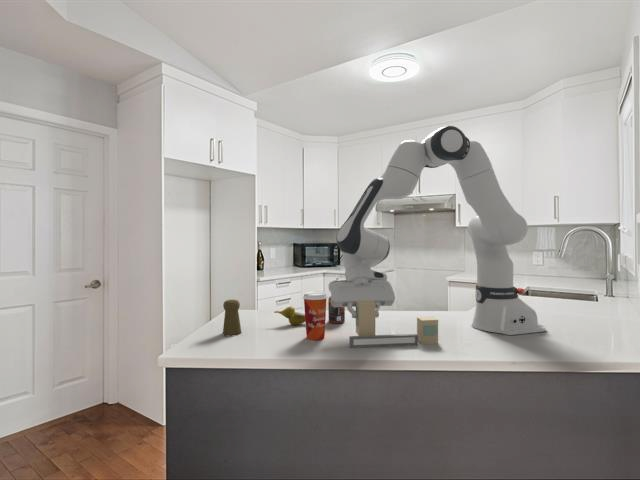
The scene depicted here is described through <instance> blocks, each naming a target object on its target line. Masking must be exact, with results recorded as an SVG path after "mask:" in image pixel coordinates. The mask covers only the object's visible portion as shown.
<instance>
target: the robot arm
mask: <svg viewBox="0 0 640 480" xmlns="http://www.w3.org/2000/svg"><path fill="white" fill-rule="evenodd" d="M447 164H449V165H450V166H451V167H452V168H453V169H454V172H455V174H456V178H457V179H458V182H459V186H460V187H461V190H462V193H463V196H464V199H465V201H466V203H467V204H468V205H469V206H470V207H471V208H472V209H473V210H474V212H475V213H476V215H475V216H474V217H472V218H471V219H470V221H469V223H468V226H467V232H468V235H469V236H470V238H471V240H472V244H473V248H474V253H475V259H476V275H477V276H476V285H475V301H476V302H475V310H474V316H473V318H472V322H471V326H472V328H475V329H477V330H480V331H484V332H485V331H486V332H489V333H491V332H492V333H497V334H498V333H499V334H502V335H506V336H507V335H508V336H514V335H524V334H532V333H541V332H546V331H547V328H546V326H544V325H542V324H541V323H539V321H538V314H537V312H536V310H535V309H534V308H532V307H531V306H530V305H528V304H527V303H526V302H525V301H523V300H522V299H521V298H520V297H519V295H522V296H524V295H525V293H526V290H525V289H524V288H520V287H515V286H514V262H513V260H512V258H511V257H510V255H509V253H508V252H509V251H508V249H507V246H511V245H514V244H518V243H520V242H522V241H523V240H524V239H525V237H526V236H527V234H528V229H529V228H528V222H527V220H526V219H525V217H523V216H522V215H521V214H519V213H518V212H517V211H516V210H515V209H514V207H513V205H512V204H511V203H510V202H509V200H508V198H507V197H506V196H505V194H504V192H503V190H502V188H501V186H500V184H499V181H498V179H497V176H496V173H495V170H494V168H493V165H492V162H491V160H490V158H489V156H488V154H487V152H486V151H485V148H484V147H483V146H482V144H481V143H480V142H478V141H475V140H470V138H468V137H467V136H466V134H465V133H464V132H463V131H462V130H461V129H460V128H458V127H457V126H454V125H447V126H442V127H439V128H438V129H436V130H434V131H433V132H431V133H429V134H428V135H427V137H425V139H423V140H422V141H419V142H418V141H416V140H413V139H412V140H411V139H409V140H408V139H407V140H404V141H402V142H401V143H399V145H398V146H397V148H396V149H395V151H394V153H393V154H392V157H391V158H390V160H389V162H388V164H387V166H386V169H385V170H384V172H383V174H381V176H380V177H379V178H375V179H372V181H371V182H370V183H369V185H367V187H366V189H364V192H363V193H362V195H361V196H360V198H359V200H358V202H357V203H356V205H355V206H354V207H353V210H352V211H351V212H350V214H349V216H348V217H347V218H346V221H344V223H343V224H342V225H341V226H340V228H339V229H338V231H337V234H336V238H335V239H336V244H337V246H338V248H339V250H340V251H341V252H342V264H343V267H344V269H345V271H344V275H345V280H343V279H341V280H332V281H331V282H328V283H329V284H328V291H329V292H330V296H331V305H332V306H333V307H345V308H347V311H348V312H349V313H350V314H351V318H352V319H356V318H357V316H358V314H357V311H356V310H354V308H356V301H362V300H373V301H374V302H375V319H376V318H377V319H378V318H379V316H380V312H379V311H380V309H381V307H391V306H393V305H394V304H395V300H396V295H395V292H394V288H393V286H392V285H391V283H390V281H388V275H387V274H386V273H385V272H380V271H377V270H373V269H372V268H373V267H375V266H378V264H381V263H382V262H383V261H384V260H386V259H387V258H388V256H389V255H390V254H389V253H390V250H391V247H390V246H391V245H390V240H389V238H388V237H387V236H385V235H383V234H381V233H379V232H376V231H374V230H372V229H369V228H368V227H364V226H365V225H364V224H365V222H366V220H367V219H368V217H369V215H370V214H371V212H372V210H373V209H374V207H375V206H376V205H377V204H378V203H379V202H380V201H382V200H402V199H405V198H407V197H410V196H411V194H412V193H413V192H414V190H415V189H416V186H417V184H418V182H419V180H420V177H421V175H422V172H423V170H424V168H427V169H428V168H430V169H434V168H435V169H436V168H439V167H441V166H445V165H447Z"/></svg>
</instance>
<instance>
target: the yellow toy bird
mask: <svg viewBox="0 0 640 480" xmlns="http://www.w3.org/2000/svg"><path fill="white" fill-rule="evenodd" d="M274 313H275V314H276V313H277V314H280V315H282V316H283V317H285V318H286V319H288V323H289V324H291V325H292V326H298V325H302V324H304V323H306V322H305V313H301V312H298V311H296V309H295V307H293V306H288V307H286V308H285V309H283V310H281V311H280V310H275V311H274Z"/></svg>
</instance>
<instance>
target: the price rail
mask: <svg viewBox="0 0 640 480" xmlns="http://www.w3.org/2000/svg"><path fill="white" fill-rule="evenodd" d="M348 338H349V339H348V341H349V348H350V349H353V348H354V349H355V348H357V349H358V348H378V347H379V346H380V347H381V346H385V347H406V346H405V345H411V346H418V345H419V341H418V335H417V333H403V334H402V333H401V334H378V335H376V334H375V335H370V336H358V335H352V336H351V335H350V336H349V337H348ZM380 347H379V348H380Z"/></svg>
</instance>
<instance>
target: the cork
mask: <svg viewBox="0 0 640 480" xmlns="http://www.w3.org/2000/svg"><path fill="white" fill-rule="evenodd" d="M240 306H241V305H240V302H239V300H237V299H227V300H225V301H224V302H223V310H224V317H223V318H224V320H223V327H222V335H223V334H224V335H223V336H225V335H230V336H229V337H232V336H231V335H235V336H238V335H241V334H242V328H241V327H242V326H241V320H240V315H239V309H240Z"/></svg>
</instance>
